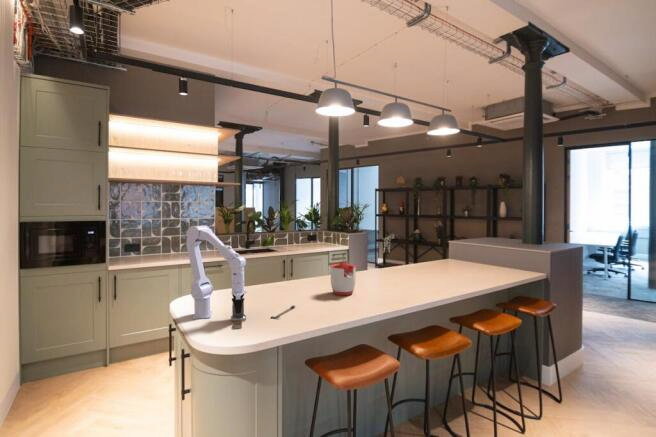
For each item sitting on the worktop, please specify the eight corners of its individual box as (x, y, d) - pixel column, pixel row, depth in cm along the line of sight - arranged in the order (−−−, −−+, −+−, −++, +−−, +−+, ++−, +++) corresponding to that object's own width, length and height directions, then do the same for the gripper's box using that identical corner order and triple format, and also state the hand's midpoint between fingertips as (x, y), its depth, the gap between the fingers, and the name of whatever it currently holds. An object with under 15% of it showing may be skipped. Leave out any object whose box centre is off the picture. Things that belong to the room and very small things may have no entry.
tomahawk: (281, 322, 170) (282, 320, 170) (270, 319, 173) (270, 317, 173) (303, 309, 189) (303, 307, 189) (292, 307, 192) (292, 304, 192)
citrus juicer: (338, 298, 209) (338, 264, 208) (326, 291, 224) (326, 259, 224) (362, 295, 215) (362, 262, 214) (348, 289, 231) (348, 258, 230)
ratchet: (230, 318, 173) (230, 308, 172) (245, 317, 174) (245, 307, 174) (230, 329, 158) (229, 318, 157) (246, 328, 159) (246, 317, 159)
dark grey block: (232, 315, 172) (232, 302, 172) (243, 314, 173) (243, 301, 173) (232, 318, 167) (232, 305, 167) (243, 317, 168) (243, 304, 168)
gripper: (247, 285, 163) (247, 314, 164) (246, 278, 177) (246, 305, 178) (230, 285, 161) (231, 315, 162) (231, 279, 176) (231, 306, 176)
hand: (238, 310), depth 170 cm, fingers open, 7 cm apart
